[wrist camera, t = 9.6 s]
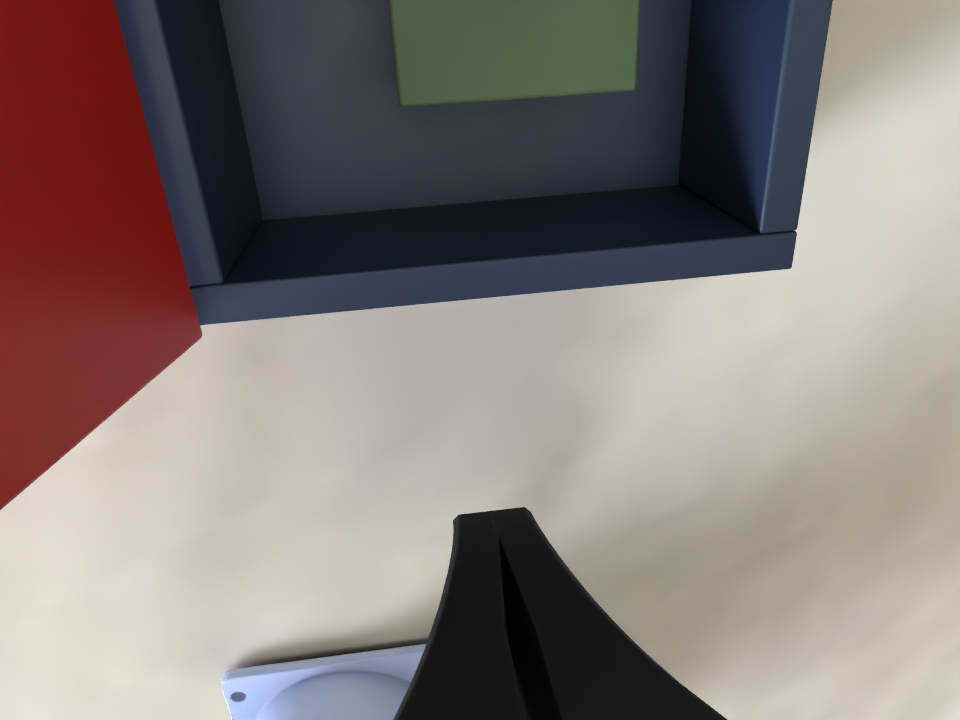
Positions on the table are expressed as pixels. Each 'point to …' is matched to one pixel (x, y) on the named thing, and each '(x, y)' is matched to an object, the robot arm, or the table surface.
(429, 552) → the table surface
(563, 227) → the dark blue open box
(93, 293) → the lid
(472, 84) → the block
